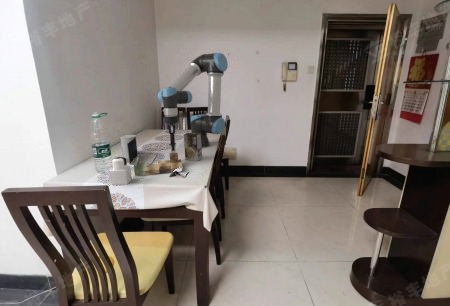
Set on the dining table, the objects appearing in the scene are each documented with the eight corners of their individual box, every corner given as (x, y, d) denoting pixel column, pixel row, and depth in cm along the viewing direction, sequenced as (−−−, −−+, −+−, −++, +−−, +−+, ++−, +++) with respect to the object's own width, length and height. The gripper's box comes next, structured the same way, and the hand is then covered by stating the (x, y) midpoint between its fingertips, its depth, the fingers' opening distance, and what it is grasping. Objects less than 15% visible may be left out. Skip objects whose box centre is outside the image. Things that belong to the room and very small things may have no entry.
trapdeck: (181, 163, 139) (180, 154, 138) (182, 172, 125) (182, 162, 123) (138, 166, 134) (137, 157, 132) (134, 176, 120) (133, 165, 118)
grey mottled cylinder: (132, 156, 152) (130, 138, 149) (119, 156, 154) (116, 137, 151) (140, 152, 161) (138, 135, 158) (128, 152, 163) (125, 134, 160)
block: (178, 159, 137) (177, 152, 136) (178, 162, 133) (178, 154, 132) (170, 160, 136) (169, 152, 135) (170, 162, 132) (169, 155, 131)
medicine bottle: (117, 179, 116) (113, 155, 112) (132, 178, 116) (129, 155, 113) (111, 185, 109) (107, 160, 105) (127, 184, 109) (124, 160, 106)
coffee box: (202, 158, 148) (201, 133, 144) (198, 161, 143) (197, 135, 138) (189, 157, 151) (188, 132, 147) (184, 159, 145) (183, 134, 141)
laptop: (151, 164, 138) (149, 143, 134) (129, 165, 137) (126, 143, 133) (156, 155, 155) (155, 136, 152) (137, 156, 154) (134, 137, 150)
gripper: (164, 114, 140) (167, 152, 146) (164, 117, 127) (167, 159, 134) (177, 114, 141) (179, 152, 148) (178, 116, 129) (180, 158, 135)
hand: (173, 155), depth 141 cm, fingers closed
